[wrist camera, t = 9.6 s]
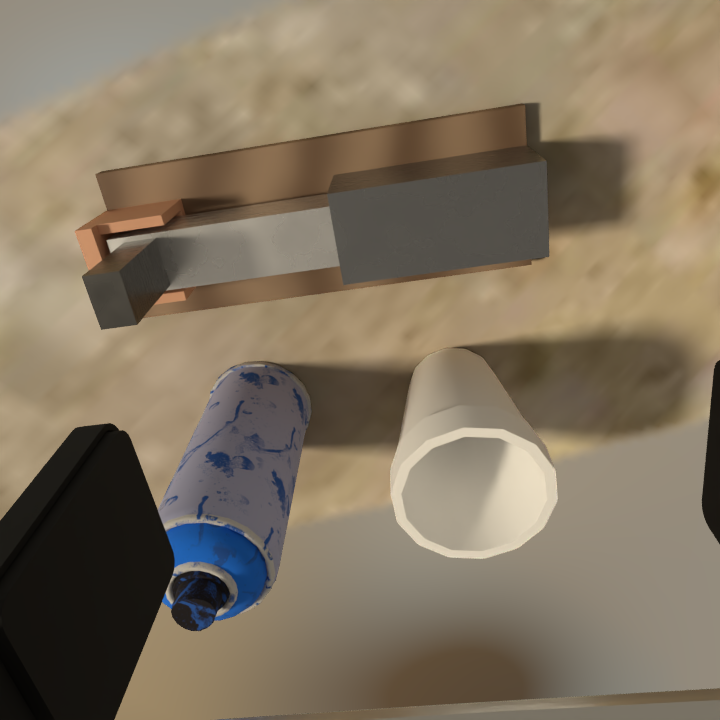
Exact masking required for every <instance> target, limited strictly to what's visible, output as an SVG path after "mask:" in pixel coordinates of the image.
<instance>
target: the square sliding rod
mask: <svg viewBox="0 0 720 720" xmlns="http://www.w3.org/2000/svg"><path fill="white" fill-rule="evenodd" d="M106 241H107V244H108V247H109V250H110V254H109V255H108V256H107V257H105V258H104V259H103V260H102V261H100V262H99V263H98V264H97V265H95V266H94V267H93V268H92V269H91V270H89V271H88V272H87V273H86V274H84V275H83V276H82V278H83V281H84V284H85V287H86V289H87V292H88V295H89V297H90V300H91V303H92V306H93V308H94V311H95V314H96V317H97V319H98V322H99V325H100V327H101V330H102V329H109V328H117V327H124V326H131V325H137V324H138V323H139V322H140V321H141V320H142V318H143V317H144V316H145V315H146V314H147V312H148V311H149V310H150V309H151V308H152V306H153V305H154V304H155V303H156V302H157V301H158V299H159V298H160V297H161V296H162V295H163V293H164V292H165V291H167V290H174V289H181V288H188V287H195V286H202V285H209V284H216V283H223V282H231V281H238V280H245V279H252V278H259V277H266V276H273V275H280V274H287V273H294V272H301V271H309V270H316V269H323V268H330V267H337V266H340V264H339V259H338V253H337V247H336V242H335V236H334V231H333V225H332V219H331V214H330V208H329V203H328V197H327V194H322V195H315V196H309V197H302V198H296V199H289V200H283V201H276V202H269V203H263V204H256V205H250V206H243V207H237V208H230V209H223V210H217V211H210V212H204V213H197V214H191V215H184V216H178V217H173V218H172V219H170V220H169V221H168V222H167V223H166V224H165V225H161V226H155V227H148V228H142V229H135V230H128V231H122V232H116V233H115V234H114V235H112V236H111V237H110V238H108V239H107V240H106Z"/></svg>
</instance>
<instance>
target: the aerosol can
mask: <svg viewBox="0 0 720 720" xmlns="http://www.w3.org/2000/svg"><path fill="white" fill-rule="evenodd" d="M311 413H312V409H311V401H310V396H309V394H308V392H307V390H306V388H305V386H304V384H303V383H302V382H301V381H300V380H299V379H298V378H297V377H296V376H295V375H294V374H293V373H291V372H290V371H288V370H286V369H284V368H282V367H280V366H279V365H275V364H271V363H267V362H262V361H259V362H244V363H242V364H239V365H236V366H234V367H231V368H229V369H228V370H227V371H226V372H224V373H223V374H222V375H221V376H219V378H218V380H217V381H216V383H215V385H214V386H213V388H212V390H211V393H210V399H209V402H208V404H207V406H206V409H205V411H204V413H203V415H202V417H201V419H200V421H199V423H198V426H197V428H196V430H195V432H194V434H193V436H192V438H191V440H190V443H189V445H188V447H187V449H186V451H185V453H184V455H183V457H182V460H181V462H180V464H179V466H178V468H177V470H176V472H175V474H174V477H173V479H172V481H171V483H170V485H169V487H168V489H167V491H166V493H165V496H164V498H163V500H162V502H161V504H160V506H159V508H158V512H159V515H160V518H161V520H162V523H163V526H164V528H165V531H166V533H167V536H168V539H169V541H170V544H171V547H172V549H173V552H174V558H175V567H174V572H173V576H172V578H171V580H170V583H169V585H168V588H167V590H166V593H165V595H164V598H163V600H162V602H163V603H164V604H165V605H167V606H168V607H170V608H171V609H172V610H171V613H172V617H173V618H174V620H175V621H176V623H177V624H179V625H180V626H181V627H183V628H185V629H188V630H191V631H201V630H203V629H206V628H207V627H209V626H210V625H211V624H212V623H213V622H214V620H223V619H226V618H230V617H233V616H236V615H237V614H241V613H244V612H247V611H249V610H250V609H251V608H253V607H255V606H256V605H258V604H260V603H261V602H262V600H263V599H264V598H265V596H266V595H267V594H268V593H269V591H270V590H271V589H272V585H273V583H274V582H275V581H276V577H277V573H278V569H279V565H280V560H281V555H282V549H283V544H284V539H285V534H286V529H287V524H288V519H289V513H290V508H291V503H292V498H293V493H294V488H295V482H296V477H297V472H298V467H299V462H300V457H301V451H302V446H303V441H304V436H305V431H306V429H307V428H308V425H309V421H310V417H311Z"/></svg>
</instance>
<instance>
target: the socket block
mask: <svg viewBox="0 0 720 720" xmlns="http://www.w3.org/2000/svg"><path fill="white" fill-rule="evenodd" d="M184 215H185V211H184V208H183V204H182V201H181V199H176V200H170V201H163V202H157V203H150V204H144V205H137V206H131V207H124V208H118V209H112V210H107V211H105V212H104V213H102V214H101V215H99V216H97V217H96V218H94V219H93V220H91V221H90V222H88V223H87V224H85V225H84V226H82V227H80V228H79V229H77V230H76V231H75V233H76V236H77V239H78V242H79V244H80V247H81V250H82V253H83V255H84V258H85V261H86V264H87V267H88V269H89V270H91V269H92V268H93V267H94V266H95V265H97V264H98V263H99V262H100V261H102V260H103V259H104V258H105V257H107V256H108V255H109V254H110V250H109V247H108V244H107V241H106V240H107V239H108V238H110V237H111V236H112V235H114V234H115V233H116V232H122V231H128V230H135V229H142V228H148V227H155V226H161V225H165V224H166V223H167V222H168V221H169V220H170V219H172V218H173V217H178V216H184ZM195 288H196V286H195V287H188V288H181V289H174V290H167V291H165V292H164V293H163V295H162V296H161V297H160V298H159V299H158V301H157V302H156V303H155V304H154V305H156V304H163V303H170V302H177V301H185V300H187V299H188V297H189V296H190V295H191V293H192V292H193V290H194V289H195Z"/></svg>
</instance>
